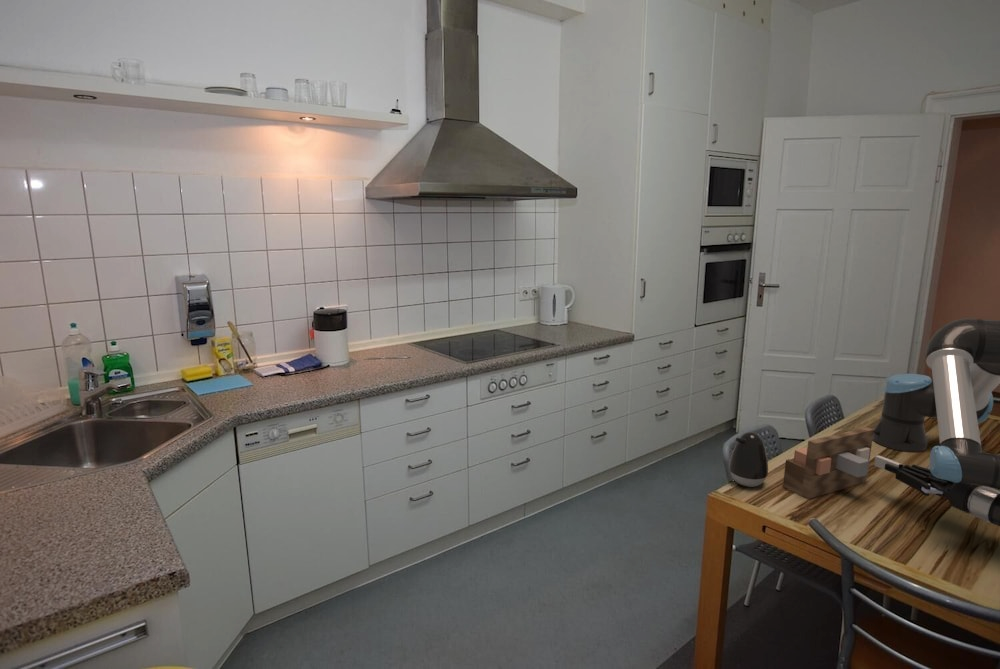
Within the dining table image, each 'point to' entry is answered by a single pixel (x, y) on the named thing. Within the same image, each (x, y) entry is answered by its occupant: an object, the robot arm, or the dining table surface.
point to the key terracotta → (821, 464)
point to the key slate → (852, 464)
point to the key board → (816, 485)
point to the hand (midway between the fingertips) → (876, 460)
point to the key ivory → (863, 452)
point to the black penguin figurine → (749, 460)
